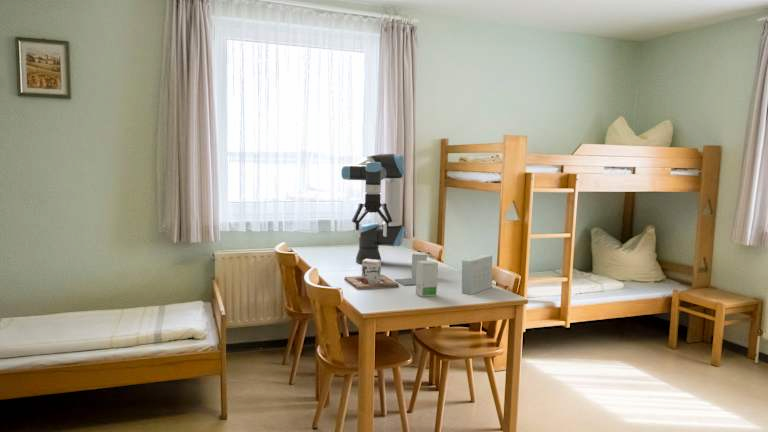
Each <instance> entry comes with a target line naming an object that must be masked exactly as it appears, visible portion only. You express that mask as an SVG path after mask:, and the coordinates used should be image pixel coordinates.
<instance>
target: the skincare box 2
mask: <svg viewBox="0 0 768 432" xmlns="http://www.w3.org/2000/svg"><path fill="white" fill-rule="evenodd" d="M490 288H493V255H489V254H482V255H477V256H472V257H470V258H466V259H465V258H464V259H463V260H462V261H461V294H466V295H470V296H472V295H474V294H476V293H479V292H482V291H485V290H487V289H490Z"/></svg>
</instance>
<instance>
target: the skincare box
mask: <svg viewBox="0 0 768 432" xmlns="http://www.w3.org/2000/svg"><path fill="white" fill-rule="evenodd" d="M438 267H439V262H437V261H433V260H427V261H417V271H416V285H415V295H417V296H419V297H421V298H422V297H423V298H425V297H426V298H427V297H437V293H438V273H439V269H438Z"/></svg>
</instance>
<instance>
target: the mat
mask: <svg viewBox="0 0 768 432" xmlns="http://www.w3.org/2000/svg"><path fill="white" fill-rule="evenodd" d="M394 282H396V283H398V284H400V285H402V286H403V287H406V286H416V278H412V277H410V278H396V279H395V278H394Z"/></svg>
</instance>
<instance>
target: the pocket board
mask: <svg viewBox="0 0 768 432" xmlns="http://www.w3.org/2000/svg"><path fill="white" fill-rule="evenodd" d="M344 281H345V282H347V283H348V284H349V285H350V286H352V287H353V288H355V289H356V290H359V291H360V290H370V289H371V290H372V289H386V288H387V289H388V288H399V283H398V282H397V281H395V280H392V279H391V278H389V277H387V276H386V275H385V274H380V283H372V284H363V283H362V275H359V276H358V275H355V276H345V277H344Z"/></svg>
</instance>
